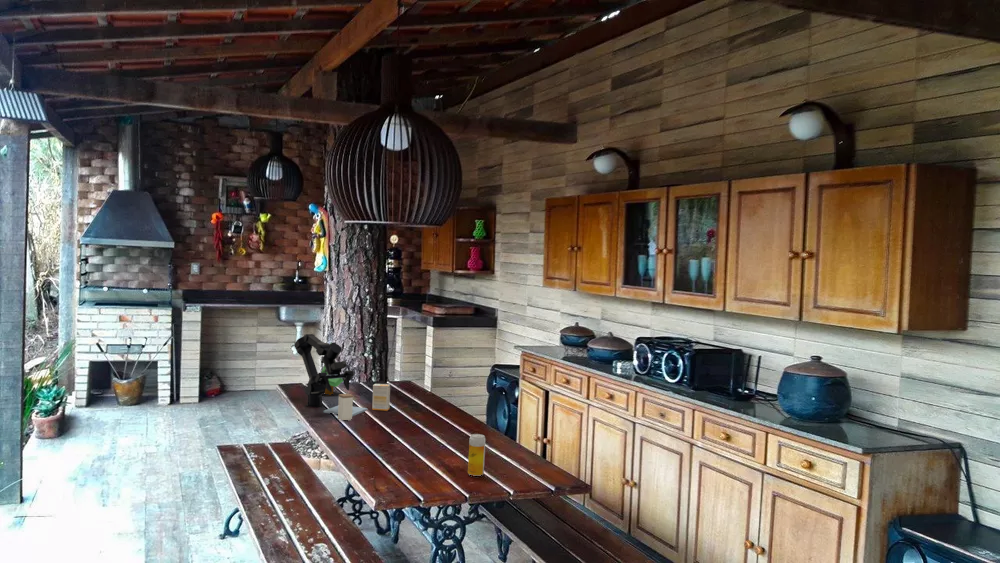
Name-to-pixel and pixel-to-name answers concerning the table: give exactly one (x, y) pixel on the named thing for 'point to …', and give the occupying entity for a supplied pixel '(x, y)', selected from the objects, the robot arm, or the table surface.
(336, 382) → the decorative tree
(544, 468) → the table surface
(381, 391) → the supplement box
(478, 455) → the beer glass
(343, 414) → the tan block
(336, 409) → the slate mat
